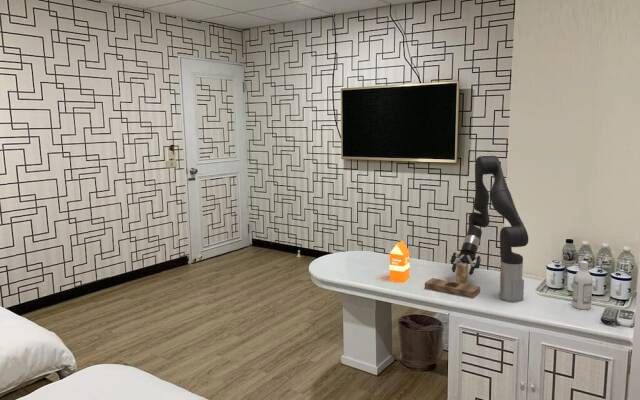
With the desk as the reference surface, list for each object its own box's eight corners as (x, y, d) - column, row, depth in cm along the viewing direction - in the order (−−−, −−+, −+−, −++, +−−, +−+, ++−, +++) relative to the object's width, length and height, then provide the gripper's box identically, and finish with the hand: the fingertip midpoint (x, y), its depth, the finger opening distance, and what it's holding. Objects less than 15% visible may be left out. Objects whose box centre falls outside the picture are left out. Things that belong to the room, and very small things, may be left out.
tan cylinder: (467, 283, 237) (467, 263, 235) (464, 285, 233) (464, 265, 232) (459, 281, 239) (460, 262, 238) (456, 283, 236) (457, 264, 234)
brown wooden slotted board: (480, 292, 222) (480, 286, 222) (473, 298, 215) (473, 292, 215) (432, 283, 237) (432, 278, 236) (424, 288, 230) (424, 282, 229)
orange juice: (409, 278, 247) (409, 240, 244) (403, 283, 239) (403, 244, 236) (395, 276, 251) (395, 239, 248) (389, 280, 243) (389, 243, 240)
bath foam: (592, 306, 202) (595, 261, 199) (588, 311, 197) (591, 265, 194) (575, 302, 207) (577, 258, 204) (570, 307, 202) (572, 262, 199)
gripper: (455, 240, 244) (445, 266, 237) (482, 243, 235) (474, 271, 228) (458, 247, 249) (450, 274, 242) (486, 251, 240) (477, 279, 233)
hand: (461, 272), depth 235 cm, fingers open, 8 cm apart
